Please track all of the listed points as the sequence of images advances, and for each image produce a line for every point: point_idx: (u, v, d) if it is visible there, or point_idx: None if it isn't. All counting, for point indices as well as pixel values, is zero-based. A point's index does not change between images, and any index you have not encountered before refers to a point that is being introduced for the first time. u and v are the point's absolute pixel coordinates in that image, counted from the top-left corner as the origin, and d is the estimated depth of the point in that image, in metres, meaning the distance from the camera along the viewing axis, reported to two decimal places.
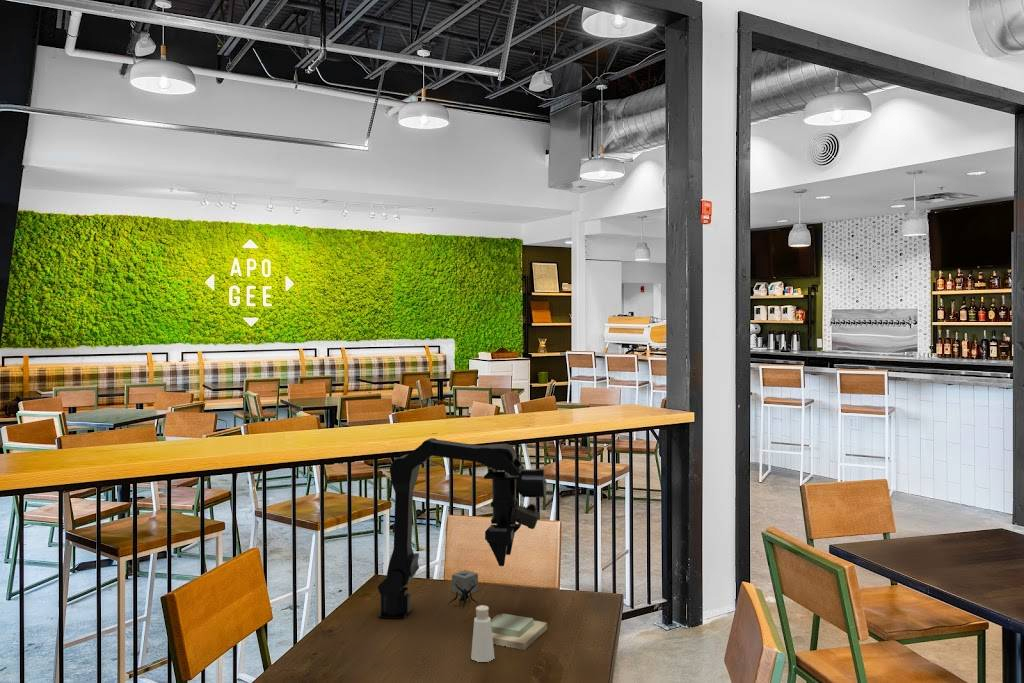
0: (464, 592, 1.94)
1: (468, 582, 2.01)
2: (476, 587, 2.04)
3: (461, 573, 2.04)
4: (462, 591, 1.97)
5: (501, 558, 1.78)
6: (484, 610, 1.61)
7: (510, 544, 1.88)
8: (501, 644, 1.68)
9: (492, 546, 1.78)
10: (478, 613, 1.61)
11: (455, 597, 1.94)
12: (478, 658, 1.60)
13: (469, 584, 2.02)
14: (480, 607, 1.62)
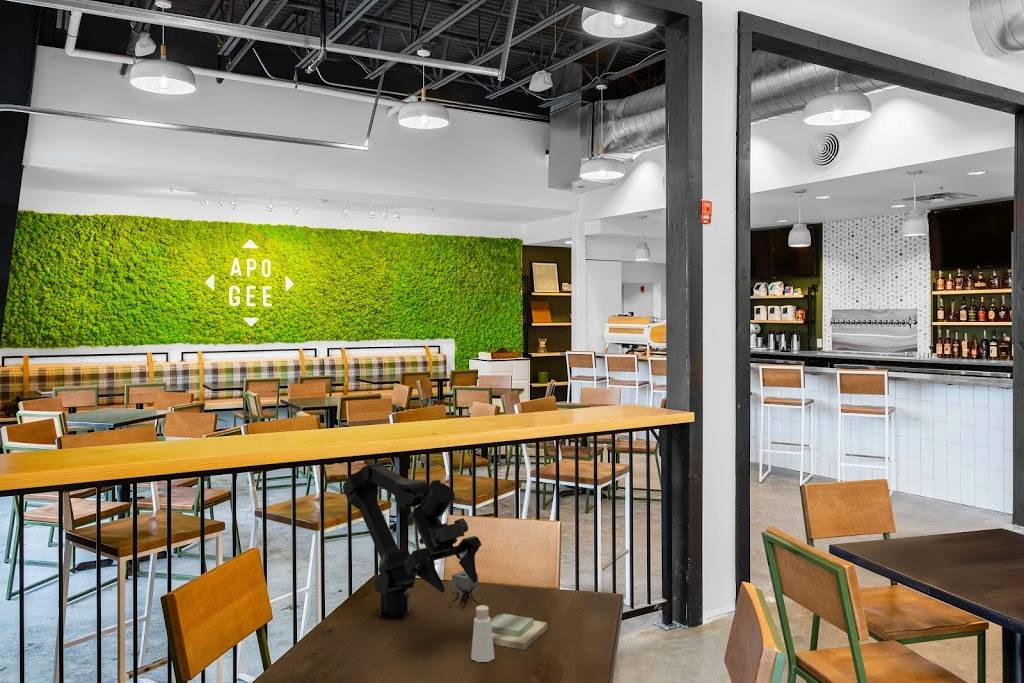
0: (465, 592, 1.94)
1: (468, 582, 2.01)
2: (476, 587, 2.03)
3: (461, 573, 2.04)
4: (463, 591, 1.97)
5: (436, 584, 1.66)
6: (484, 610, 1.61)
7: (471, 570, 1.72)
8: (501, 644, 1.68)
9: (424, 577, 1.68)
10: (478, 613, 1.61)
11: (456, 597, 1.94)
12: (478, 658, 1.60)
13: (469, 584, 2.01)
14: (480, 607, 1.62)
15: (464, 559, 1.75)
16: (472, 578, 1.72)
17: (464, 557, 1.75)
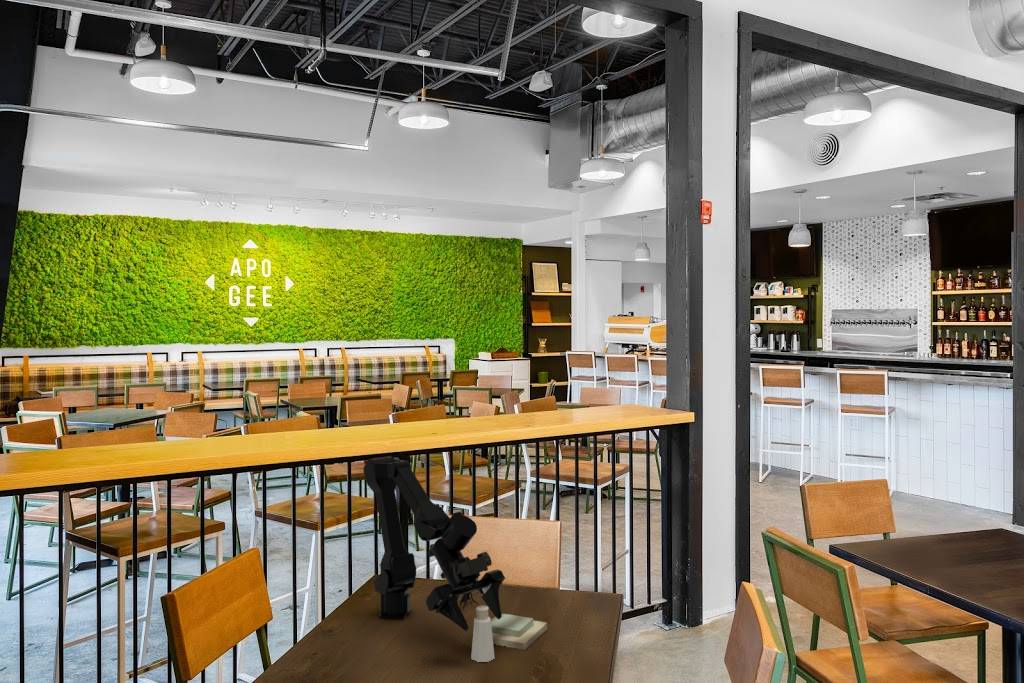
0: None
1: None
2: None
3: None
4: None
5: (460, 621, 1.59)
6: (484, 610, 1.61)
7: (495, 606, 1.66)
8: (501, 644, 1.68)
9: (446, 614, 1.61)
10: (478, 613, 1.61)
11: None
12: (478, 658, 1.60)
13: None
14: (480, 607, 1.62)
15: (487, 594, 1.69)
16: (496, 614, 1.65)
17: (487, 592, 1.69)
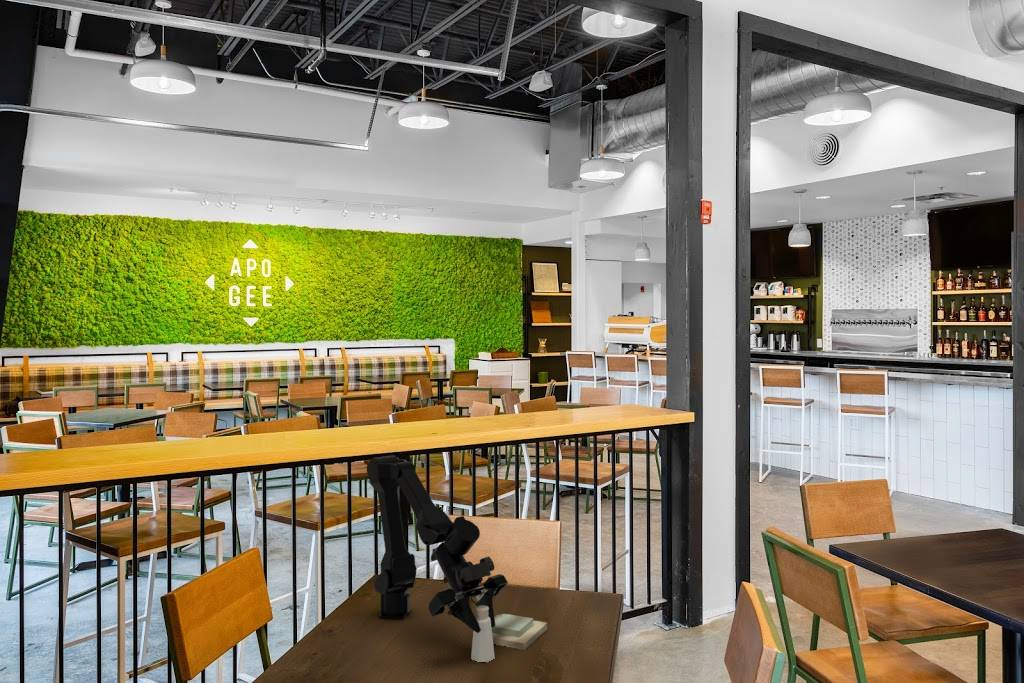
0: None
1: None
2: None
3: None
4: None
5: (472, 624, 1.60)
6: (484, 610, 1.61)
7: (489, 614, 1.64)
8: (501, 644, 1.68)
9: (458, 616, 1.62)
10: (478, 613, 1.61)
11: None
12: (478, 658, 1.60)
13: None
14: (480, 607, 1.62)
15: (481, 601, 1.66)
16: None
17: (481, 600, 1.66)
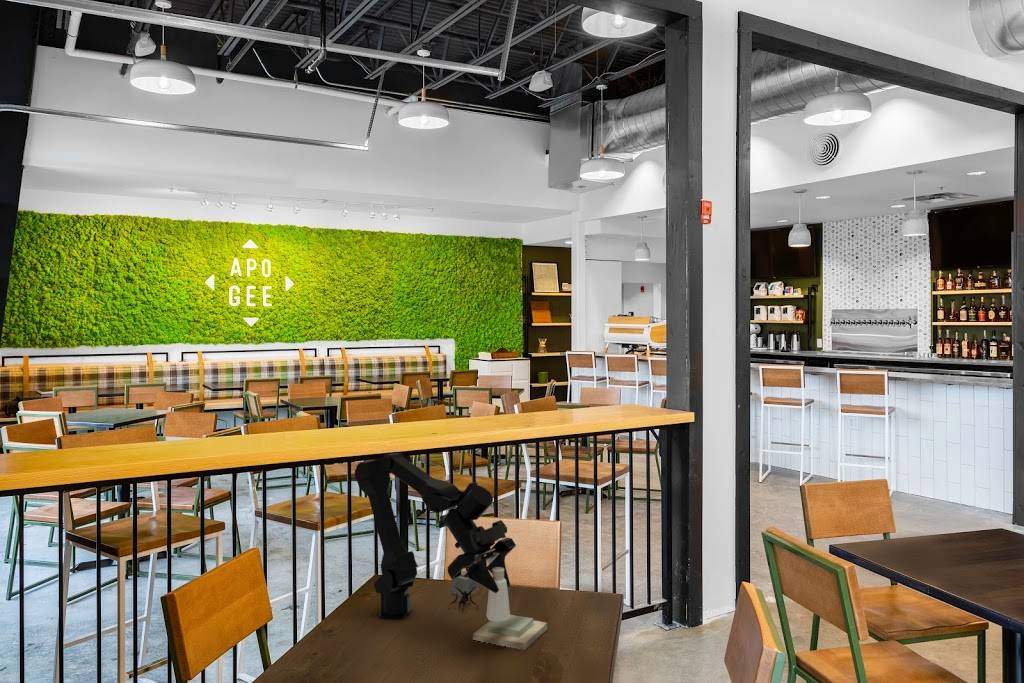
0: (464, 594, 1.92)
1: (469, 583, 2.00)
2: (477, 588, 2.03)
3: (461, 574, 2.03)
4: (462, 593, 1.95)
5: (490, 584, 1.66)
6: (501, 571, 1.67)
7: None
8: (501, 644, 1.68)
9: (475, 578, 1.67)
10: (495, 574, 1.67)
11: (455, 599, 1.92)
12: (496, 617, 1.65)
13: (470, 585, 2.00)
14: (497, 568, 1.67)
15: (493, 564, 1.72)
16: None
17: (493, 562, 1.72)
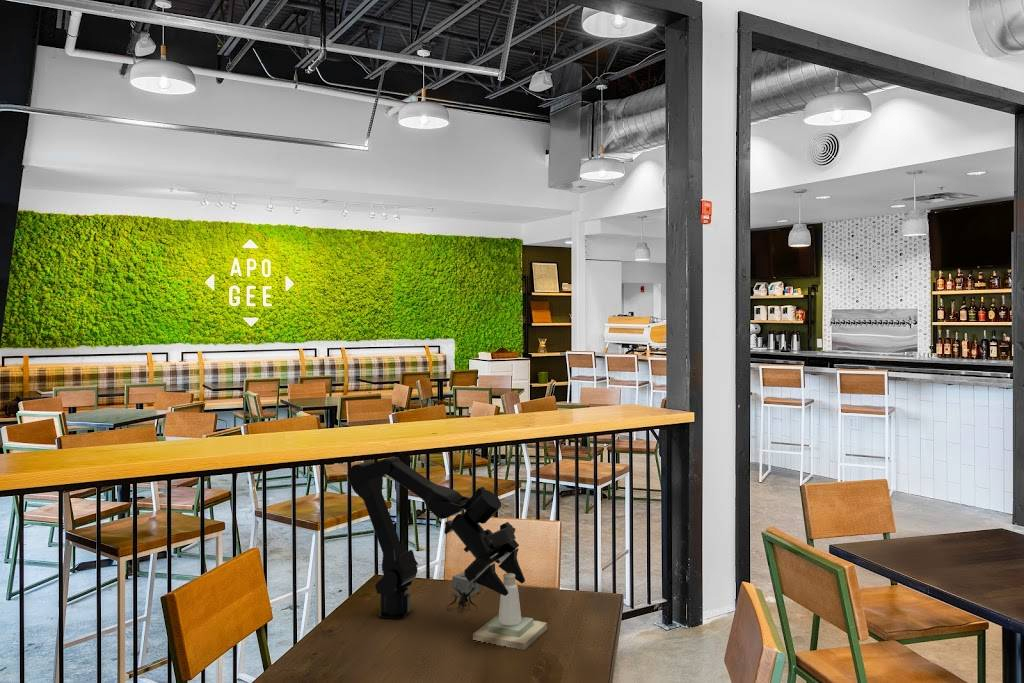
0: (463, 595, 1.92)
1: (469, 584, 2.00)
2: (477, 589, 2.02)
3: (462, 575, 2.03)
4: (461, 594, 1.94)
5: (500, 588, 1.69)
6: (513, 576, 1.74)
7: (518, 571, 1.78)
8: (501, 644, 1.68)
9: (484, 583, 1.70)
10: (507, 580, 1.73)
11: (454, 600, 1.92)
12: (509, 621, 1.72)
13: (470, 586, 2.00)
14: (508, 574, 1.74)
15: (506, 562, 1.80)
16: (519, 579, 1.78)
17: (506, 560, 1.80)
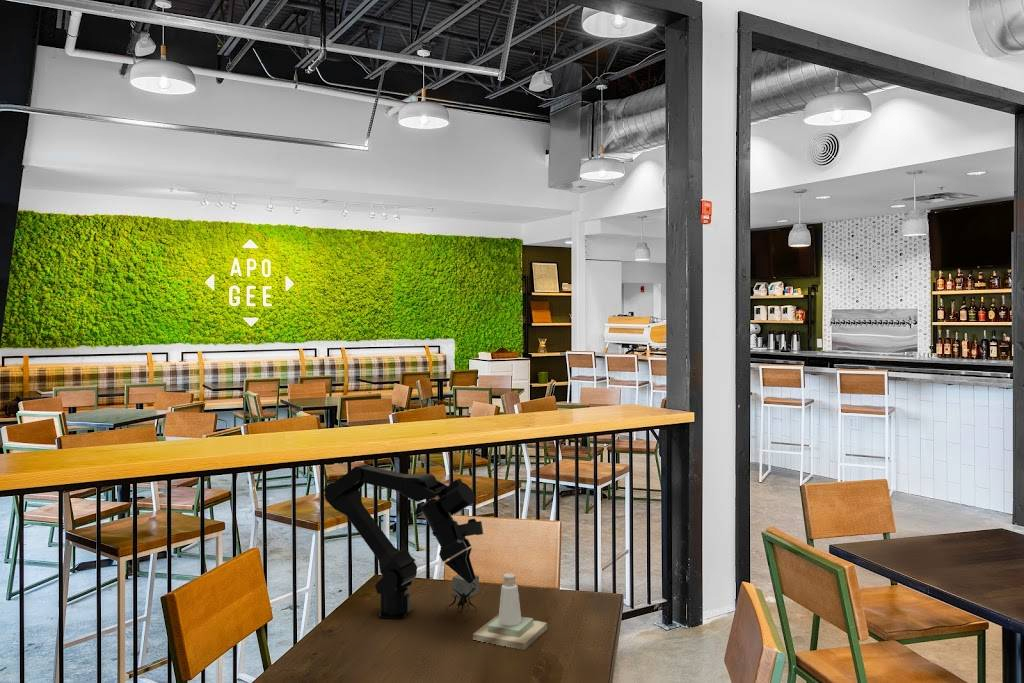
0: (462, 596, 1.91)
1: (469, 584, 1.99)
2: (477, 589, 2.02)
3: None
4: (460, 595, 1.94)
5: (467, 574, 1.74)
6: (513, 577, 1.73)
7: (470, 568, 1.84)
8: (501, 644, 1.68)
9: (453, 567, 1.74)
10: (507, 580, 1.73)
11: None
12: (509, 622, 1.72)
13: (470, 586, 2.00)
14: (508, 575, 1.74)
15: None
16: (470, 576, 1.83)
17: None
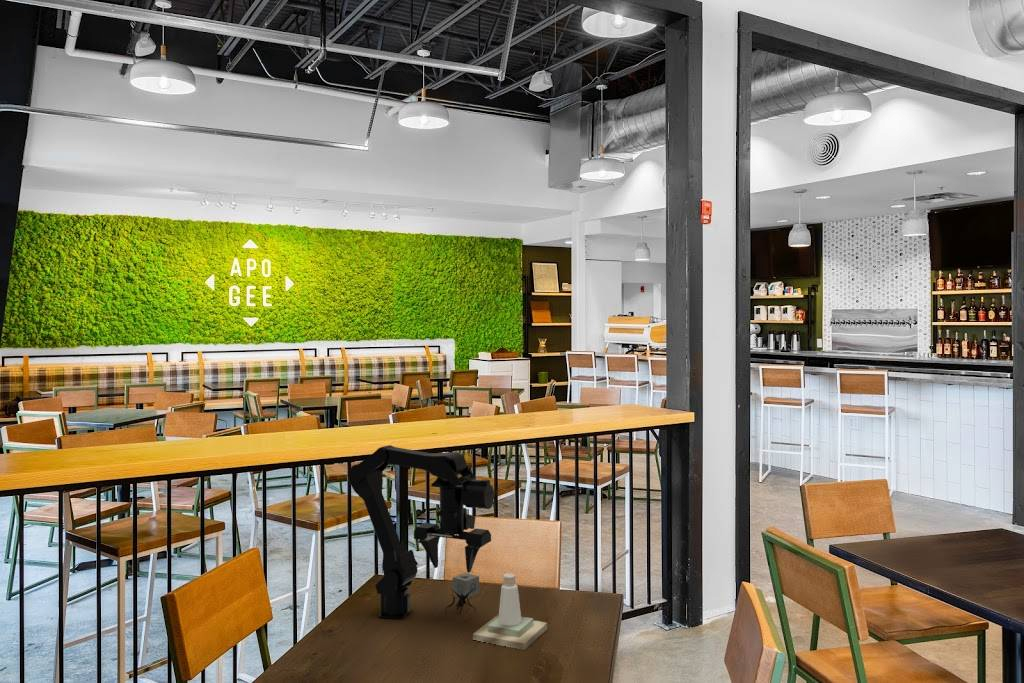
0: (461, 597, 1.90)
1: (469, 585, 1.99)
2: (477, 590, 2.01)
3: (462, 576, 2.02)
4: (459, 596, 1.93)
5: (472, 564, 1.79)
6: (513, 577, 1.73)
7: (437, 556, 1.84)
8: (501, 644, 1.68)
9: (471, 553, 1.77)
10: (507, 580, 1.73)
11: (452, 602, 1.90)
12: (509, 622, 1.72)
13: (470, 587, 1.99)
14: (508, 575, 1.74)
15: (433, 542, 1.83)
16: (436, 563, 1.83)
17: (433, 541, 1.84)
